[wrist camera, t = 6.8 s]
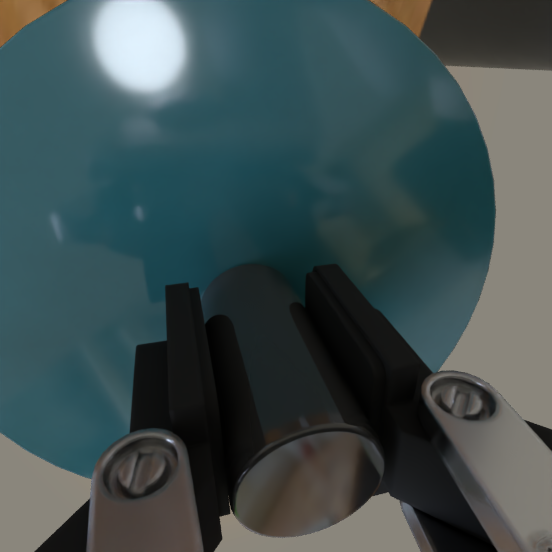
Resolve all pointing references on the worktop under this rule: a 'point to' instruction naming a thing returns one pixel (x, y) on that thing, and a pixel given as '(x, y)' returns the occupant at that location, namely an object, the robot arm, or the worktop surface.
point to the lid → (230, 225)
